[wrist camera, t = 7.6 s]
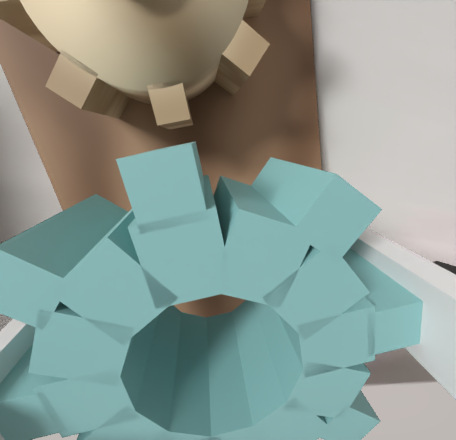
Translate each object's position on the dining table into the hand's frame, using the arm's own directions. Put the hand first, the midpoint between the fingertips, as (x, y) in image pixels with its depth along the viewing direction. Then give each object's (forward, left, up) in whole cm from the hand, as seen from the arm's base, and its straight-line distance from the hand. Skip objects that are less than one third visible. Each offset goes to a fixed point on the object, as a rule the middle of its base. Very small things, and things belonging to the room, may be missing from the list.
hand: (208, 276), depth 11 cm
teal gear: (0, 0, 0) cm, 0 cm away
